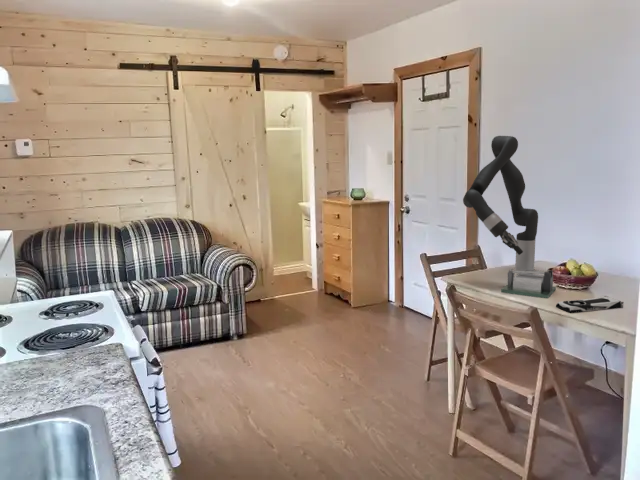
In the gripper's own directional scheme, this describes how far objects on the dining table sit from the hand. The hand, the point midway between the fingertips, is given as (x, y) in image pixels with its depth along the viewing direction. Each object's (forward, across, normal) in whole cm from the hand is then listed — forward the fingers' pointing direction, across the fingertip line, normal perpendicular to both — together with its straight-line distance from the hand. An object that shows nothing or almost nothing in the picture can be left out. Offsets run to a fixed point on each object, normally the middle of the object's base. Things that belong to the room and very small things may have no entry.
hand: (521, 253), depth 246 cm
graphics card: (+34, -15, -9) cm, 38 cm away
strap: (+9, -1, +4) cm, 9 cm away
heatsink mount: (+15, 0, +9) cm, 18 cm away
